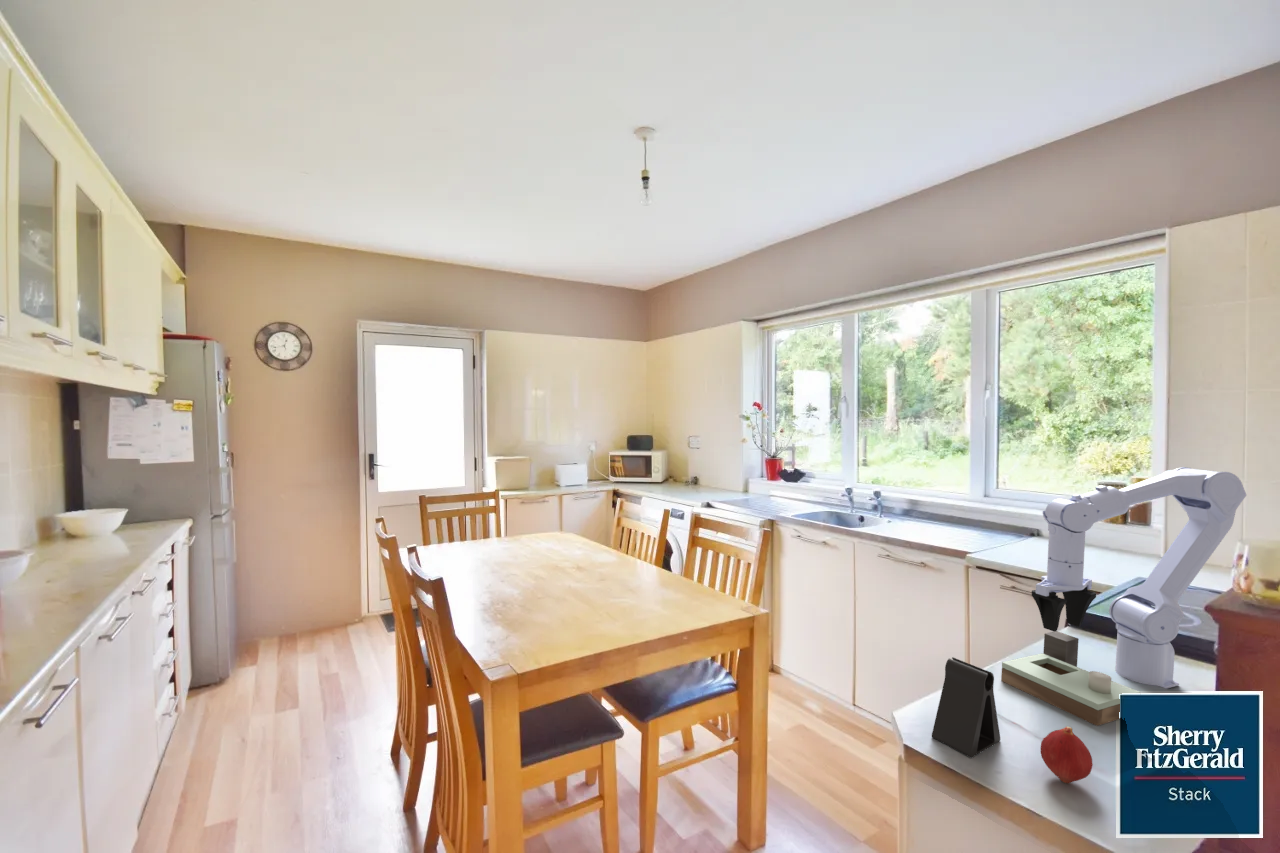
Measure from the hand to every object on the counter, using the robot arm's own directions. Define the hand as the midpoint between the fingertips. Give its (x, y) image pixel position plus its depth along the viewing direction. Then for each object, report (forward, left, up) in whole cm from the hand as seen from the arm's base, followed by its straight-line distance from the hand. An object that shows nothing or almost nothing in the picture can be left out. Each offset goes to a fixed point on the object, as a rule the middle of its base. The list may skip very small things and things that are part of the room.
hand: (1062, 627), depth 110 cm
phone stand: (+39, +9, -10) cm, 41 cm away
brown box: (+10, +7, -10) cm, 16 cm away
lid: (+10, +7, -6) cm, 14 cm away
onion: (+35, +21, -10) cm, 42 cm away
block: (0, 0, -10) cm, 10 cm away
